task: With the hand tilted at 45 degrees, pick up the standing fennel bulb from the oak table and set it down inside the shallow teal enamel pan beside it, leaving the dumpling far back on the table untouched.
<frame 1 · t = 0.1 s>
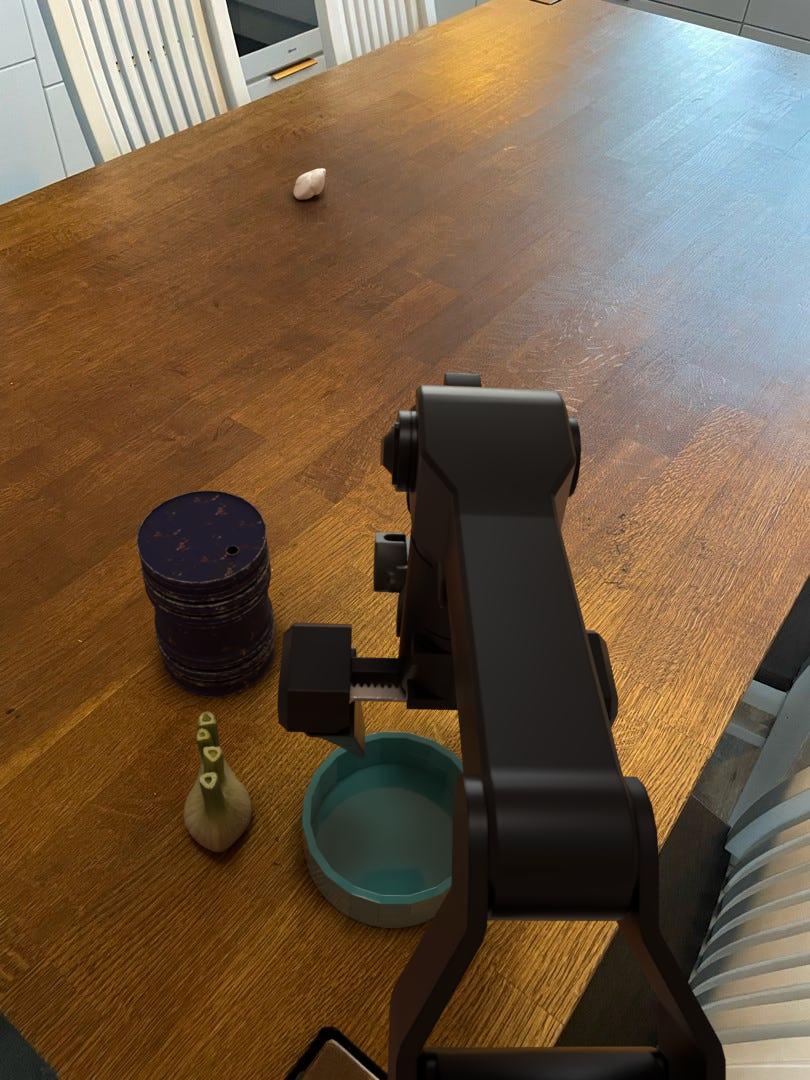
hand: (433, 752, 57), 14 cm above the table, tool pointing down, fingers open, 9 cm apart
pan: (391, 838, 67), on the table
dark blue cylinder: (219, 652, 78), on the table
dumpling: (309, 195, 138), on the table
fennel bulb: (220, 825, 67), on the table
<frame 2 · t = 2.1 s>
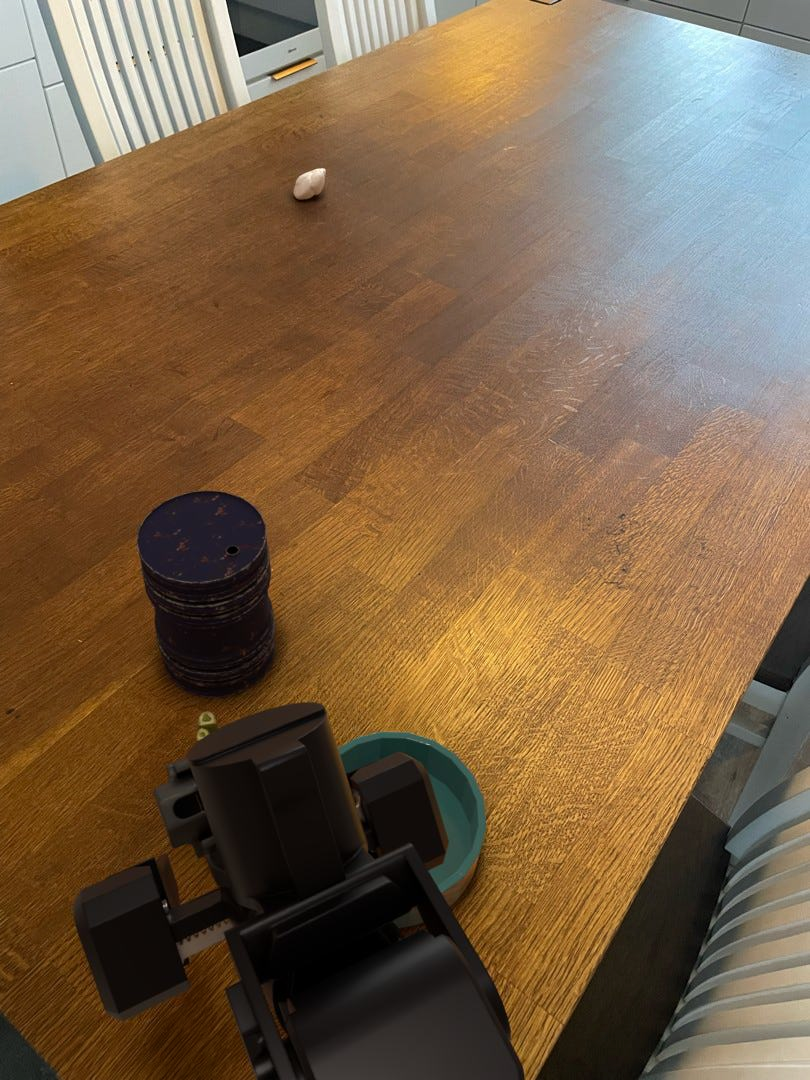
hand: (240, 829, 54), 13 cm above the table, tool tilted 45°, fingers open, 9 cm apart
nothing on the table moved.
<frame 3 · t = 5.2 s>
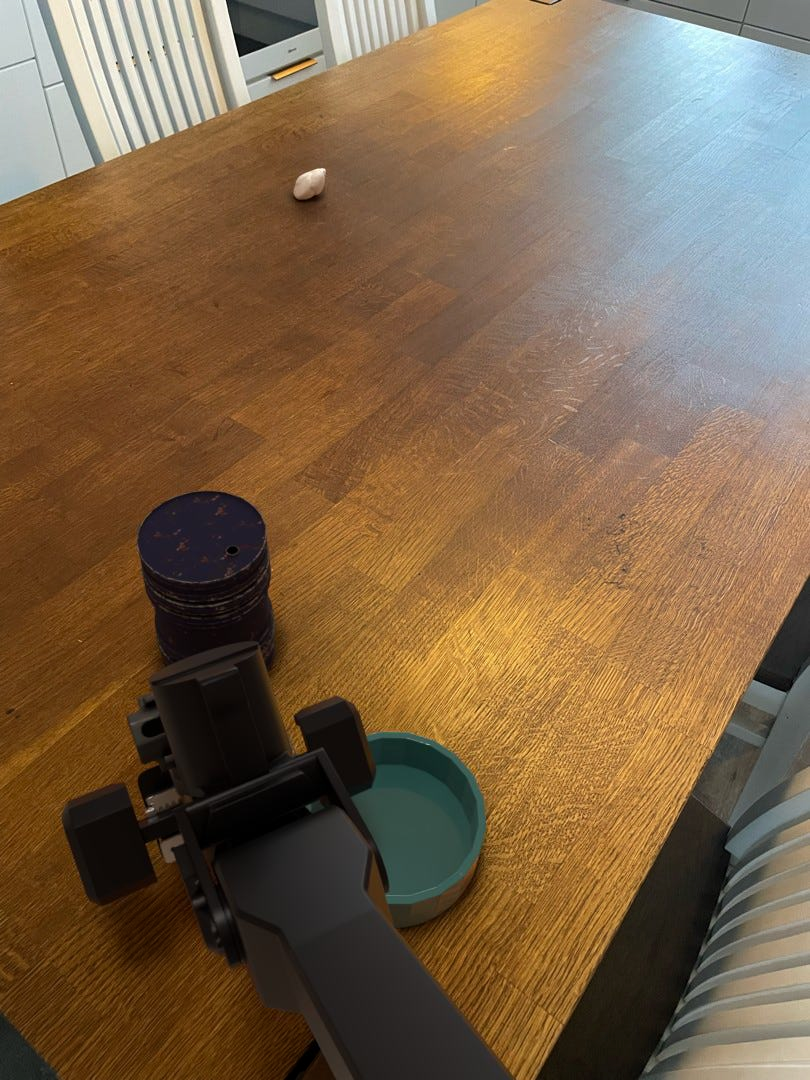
hand: (205, 764, 63), 7 cm above the table, tool tilted 45°, fingers closed on fennel bulb, 2 cm apart
fennel bulb: (219, 824, 67), on the table, touching gripper
everything else where it was.
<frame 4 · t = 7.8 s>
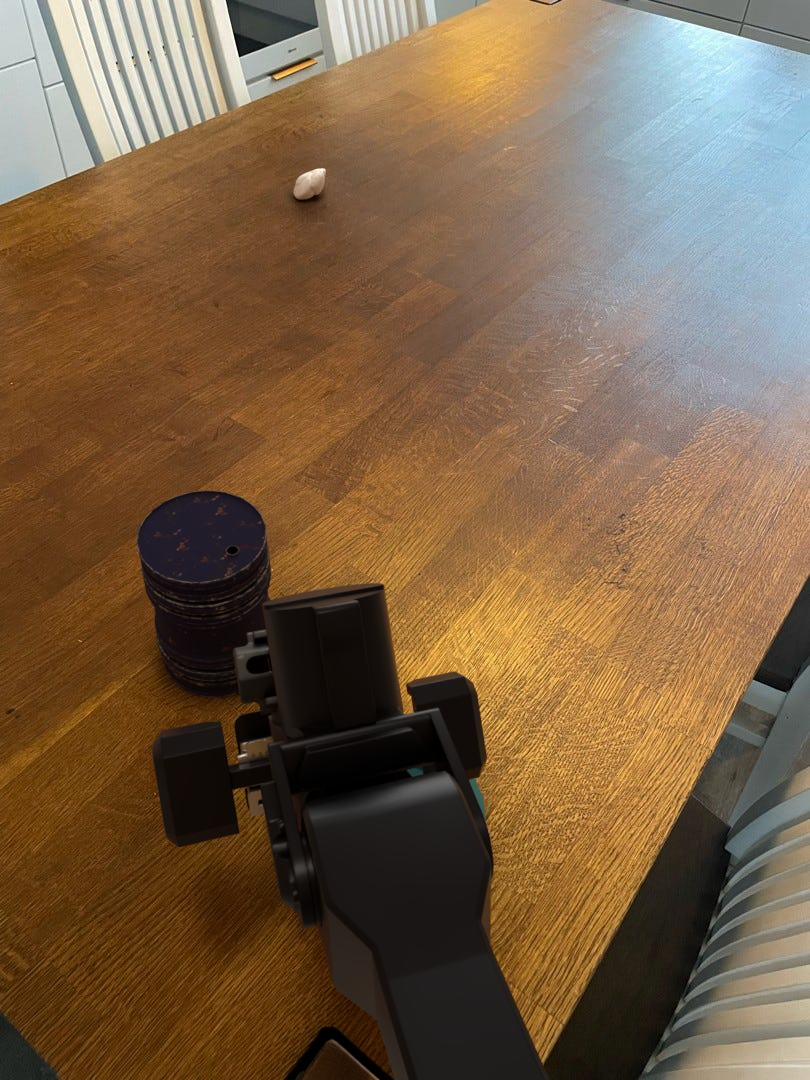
hand: (306, 724, 60), 12 cm above the table, tool tilted 45°, fingers closed on fennel bulb, 2 cm apart
fennel bulb: (311, 793, 64), point 5 cm above the table, touching gripper
everything else where it was.
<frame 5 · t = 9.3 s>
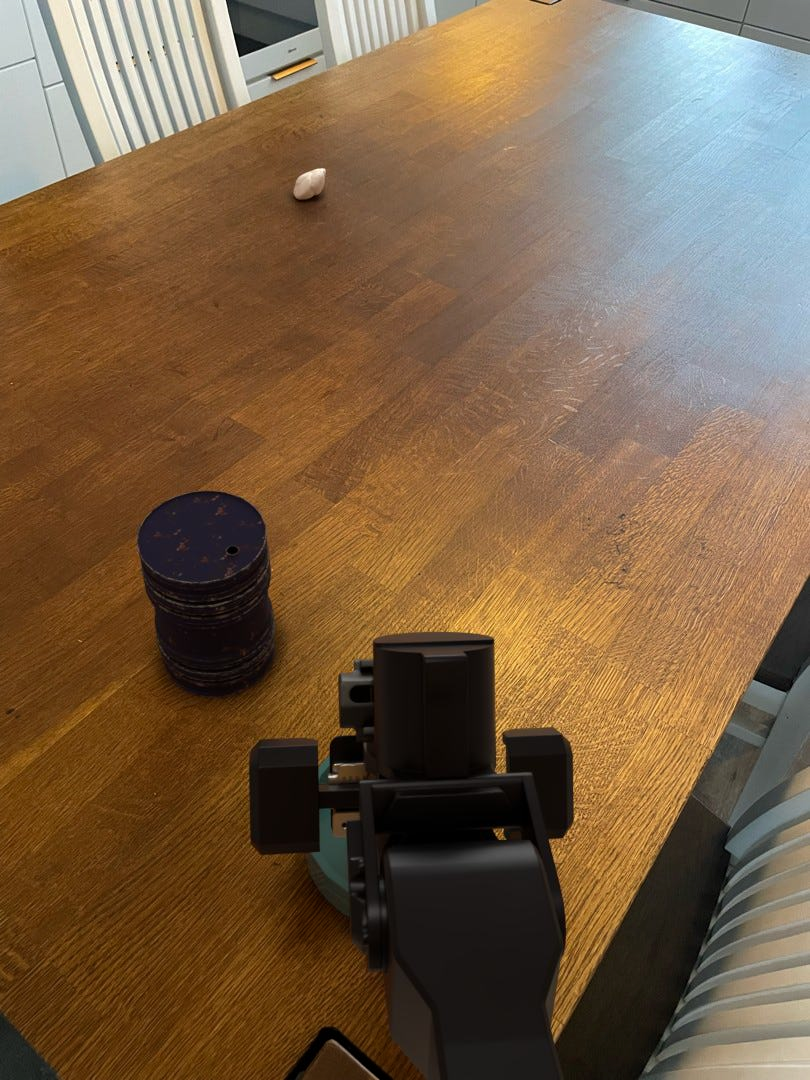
hand: (398, 752, 60), 11 cm above the table, tool tilted 45°, fingers closed on fennel bulb, 2 cm apart
fennel bulb: (394, 819, 64), point 4 cm above the table, touching gripper
everything else where it was.
when the fingers open (7 cm above the table, at t = 10.5 s): fennel bulb stays where it is, resting on pan.
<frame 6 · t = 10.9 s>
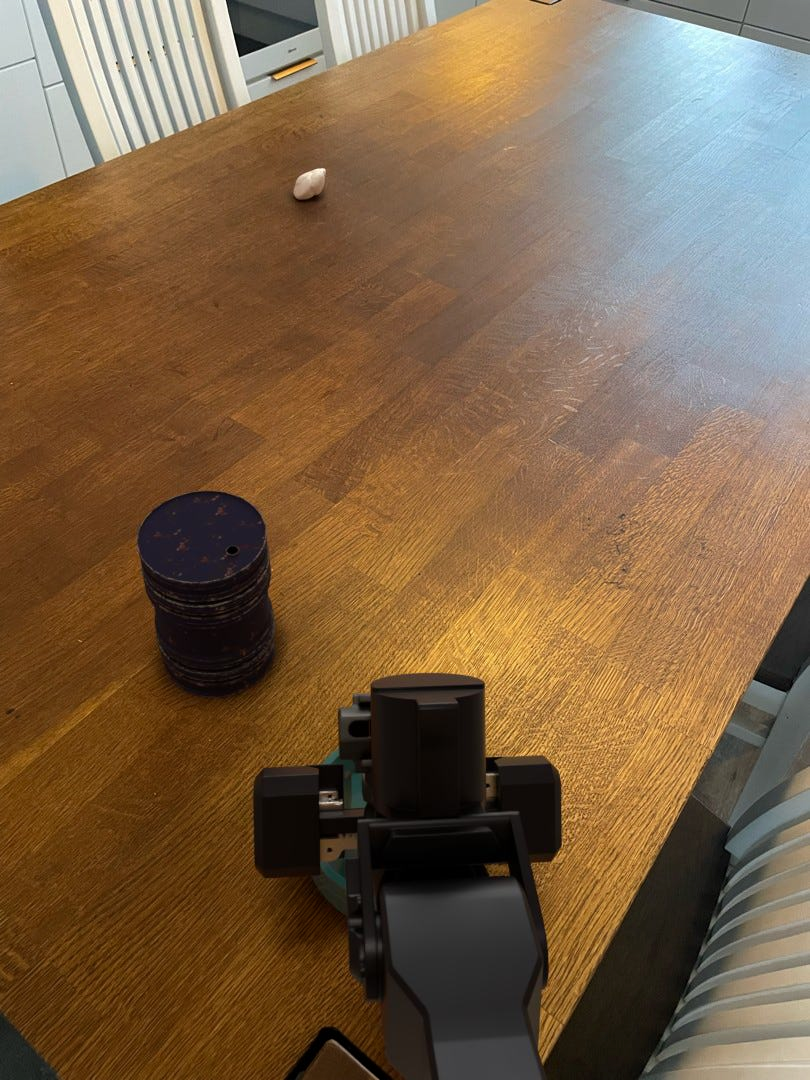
hand: (395, 775, 63), 7 cm above the table, tool tilted 45°, fingers open, 6 cm apart
fennel bulb: (391, 840, 67), resting on pan
everything else where it was.
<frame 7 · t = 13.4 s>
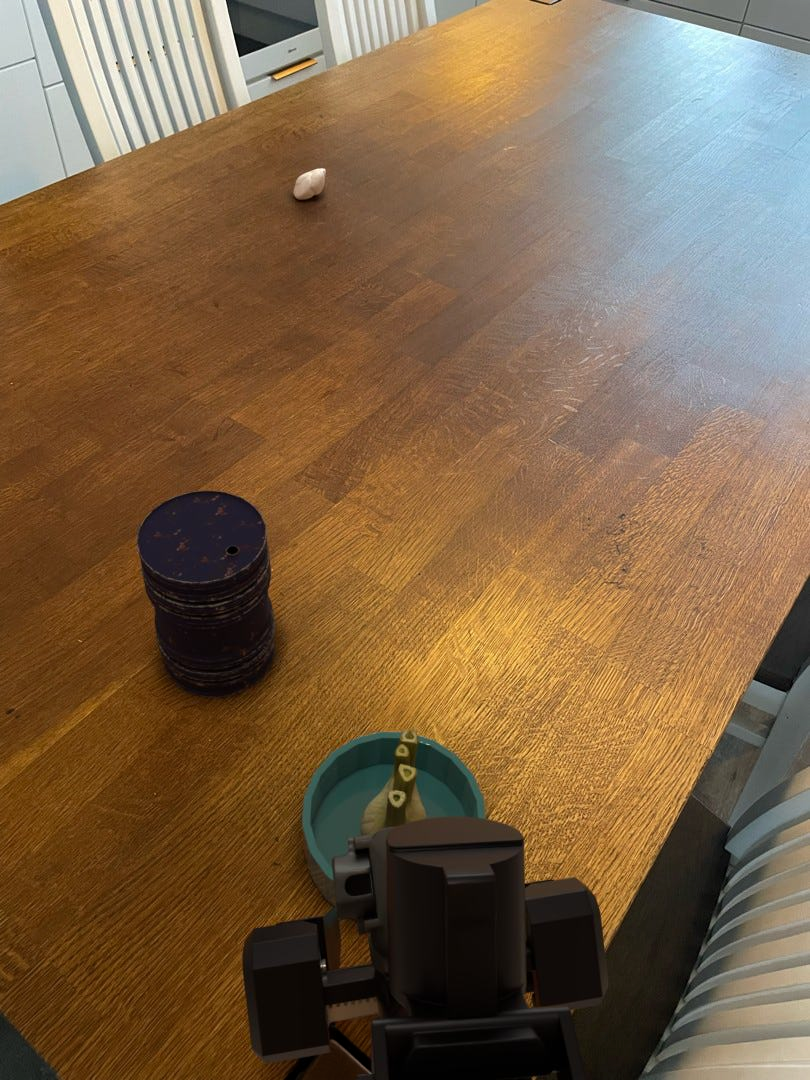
hand: (409, 904, 55), 9 cm above the table, tool tilted 45°, fingers open, 9 cm apart
nothing on the table moved.
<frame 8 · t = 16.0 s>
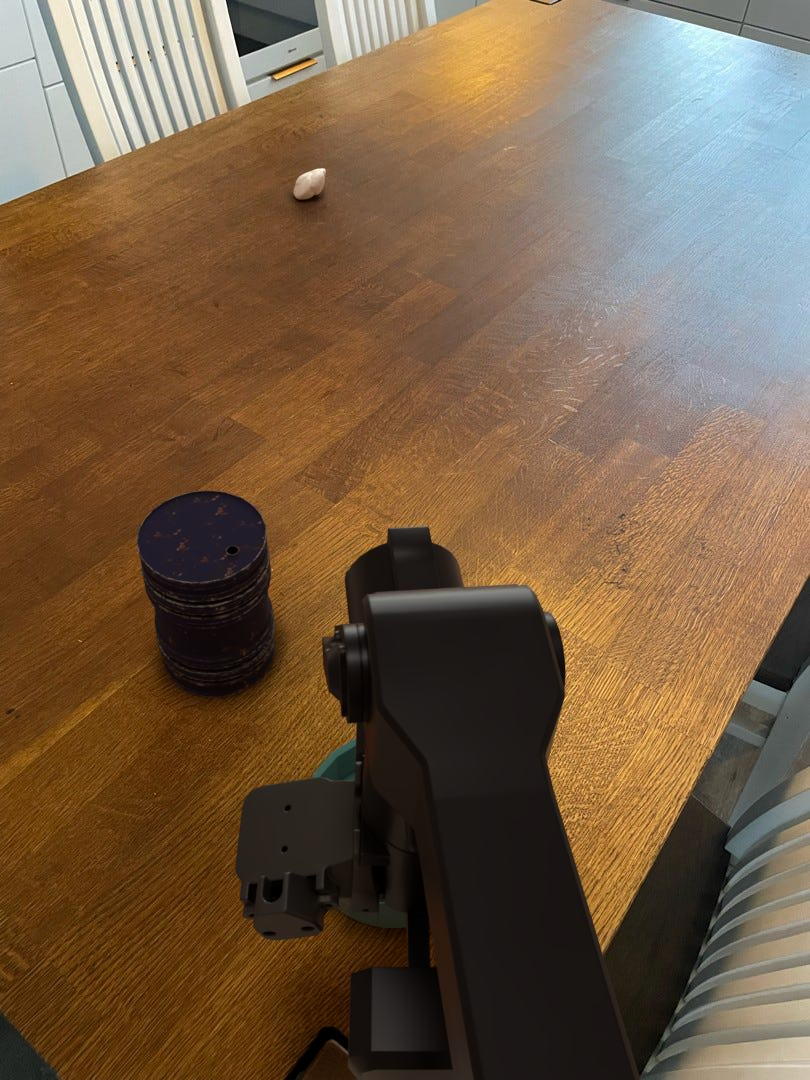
hand: (404, 924, 50), 13 cm above the table, tool pointing down, fingers open, 9 cm apart
nothing on the table moved.
at the end: fennel bulb inside the target area in the pan (0.3 cm from its centre), point 0.3 cm above the pan's base; the gripper is holding nothing; dumpling moved 0.2 cm from its start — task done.
